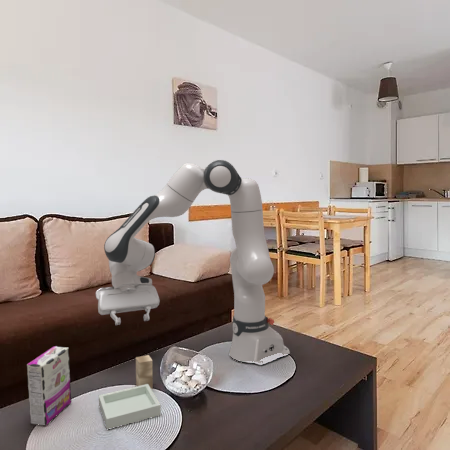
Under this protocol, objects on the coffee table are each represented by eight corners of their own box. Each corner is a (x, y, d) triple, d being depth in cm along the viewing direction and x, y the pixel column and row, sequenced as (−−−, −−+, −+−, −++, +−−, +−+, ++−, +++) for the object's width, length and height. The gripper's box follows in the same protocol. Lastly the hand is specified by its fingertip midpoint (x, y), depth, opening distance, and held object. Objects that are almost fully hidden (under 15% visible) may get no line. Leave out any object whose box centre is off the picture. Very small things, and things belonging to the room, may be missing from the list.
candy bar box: (56, 400, 109) (53, 345, 107) (71, 402, 108) (70, 347, 106) (28, 424, 98) (25, 363, 96) (45, 427, 97) (43, 365, 95)
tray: (148, 393, 113) (147, 383, 113) (160, 415, 103) (160, 404, 102) (98, 405, 107) (98, 395, 106) (106, 430, 96) (106, 419, 96)
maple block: (148, 382, 119) (148, 354, 118) (152, 388, 116) (152, 360, 115) (136, 385, 118) (135, 357, 117) (139, 391, 114) (139, 363, 113)
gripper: (95, 283, 126) (101, 322, 119) (155, 278, 136) (164, 313, 128) (93, 293, 131) (98, 331, 123) (152, 287, 140) (160, 322, 133)
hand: (132, 322), depth 126 cm, fingers open, 8 cm apart
